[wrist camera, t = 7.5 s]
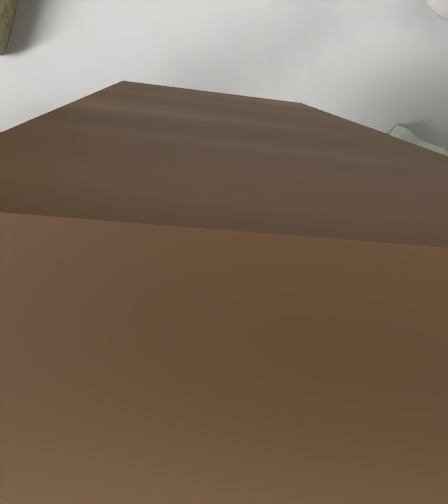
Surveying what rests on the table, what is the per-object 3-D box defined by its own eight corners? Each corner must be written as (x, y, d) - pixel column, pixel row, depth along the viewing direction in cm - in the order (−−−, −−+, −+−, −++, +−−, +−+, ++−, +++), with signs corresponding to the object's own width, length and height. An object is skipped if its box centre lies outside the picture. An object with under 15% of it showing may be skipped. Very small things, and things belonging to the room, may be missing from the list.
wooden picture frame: (235, 497, 16) (298, 958, 8) (111, 498, 15) (38, 1002, 7) (312, 104, 10) (820, 277, 2) (122, 80, 10) (-162, 199, 2)
